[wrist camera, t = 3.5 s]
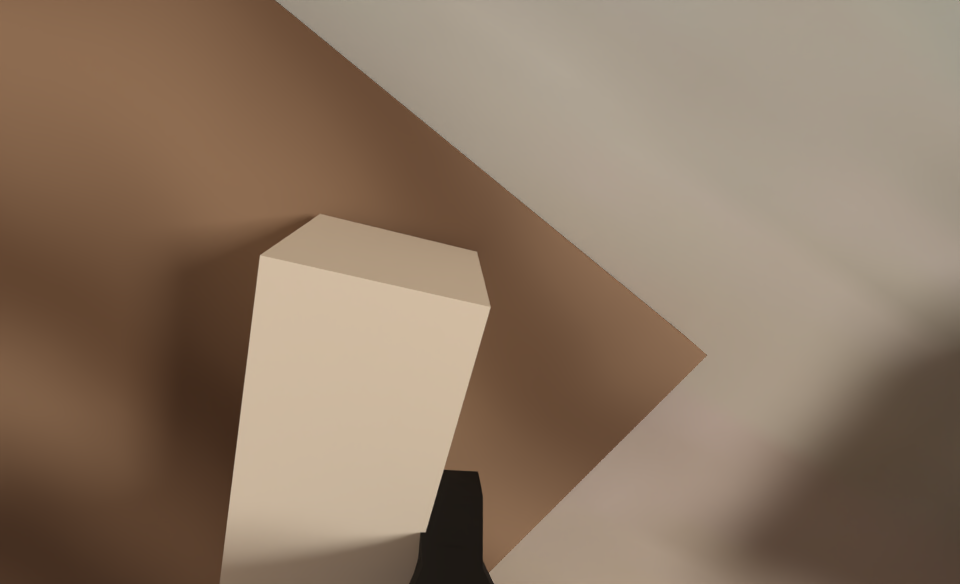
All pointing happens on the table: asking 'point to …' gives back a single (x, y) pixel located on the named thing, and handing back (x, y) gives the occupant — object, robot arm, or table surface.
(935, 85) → the table surface
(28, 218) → the hinge board
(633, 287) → the table surface
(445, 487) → the robot arm
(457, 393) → the link
